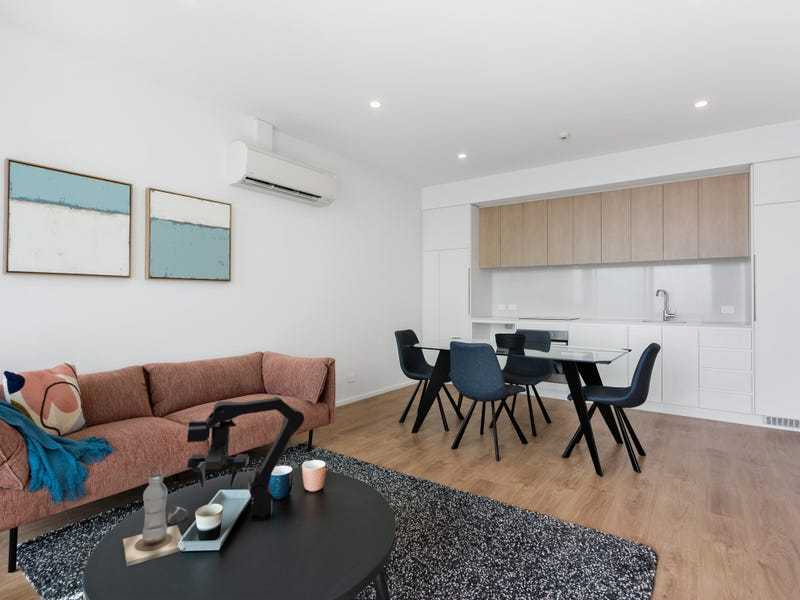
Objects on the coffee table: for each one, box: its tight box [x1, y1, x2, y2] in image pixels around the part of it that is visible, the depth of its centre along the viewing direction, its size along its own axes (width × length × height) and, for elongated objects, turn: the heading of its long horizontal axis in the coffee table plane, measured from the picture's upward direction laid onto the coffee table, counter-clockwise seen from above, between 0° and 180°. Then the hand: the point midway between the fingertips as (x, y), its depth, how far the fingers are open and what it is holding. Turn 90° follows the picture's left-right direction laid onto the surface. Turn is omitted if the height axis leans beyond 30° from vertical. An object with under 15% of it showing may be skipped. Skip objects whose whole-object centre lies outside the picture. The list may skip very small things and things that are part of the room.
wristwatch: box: [167, 506, 188, 525], centre depth 145 cm, size 4×6×5 cm, turn 138°
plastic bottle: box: [141, 473, 168, 544], centre depth 130 cm, size 6×7×20 cm
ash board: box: [122, 524, 183, 567], centre depth 130 cm, size 15×15×1 cm
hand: (217, 486), depth 143 cm, fingers open, 9 cm apart
